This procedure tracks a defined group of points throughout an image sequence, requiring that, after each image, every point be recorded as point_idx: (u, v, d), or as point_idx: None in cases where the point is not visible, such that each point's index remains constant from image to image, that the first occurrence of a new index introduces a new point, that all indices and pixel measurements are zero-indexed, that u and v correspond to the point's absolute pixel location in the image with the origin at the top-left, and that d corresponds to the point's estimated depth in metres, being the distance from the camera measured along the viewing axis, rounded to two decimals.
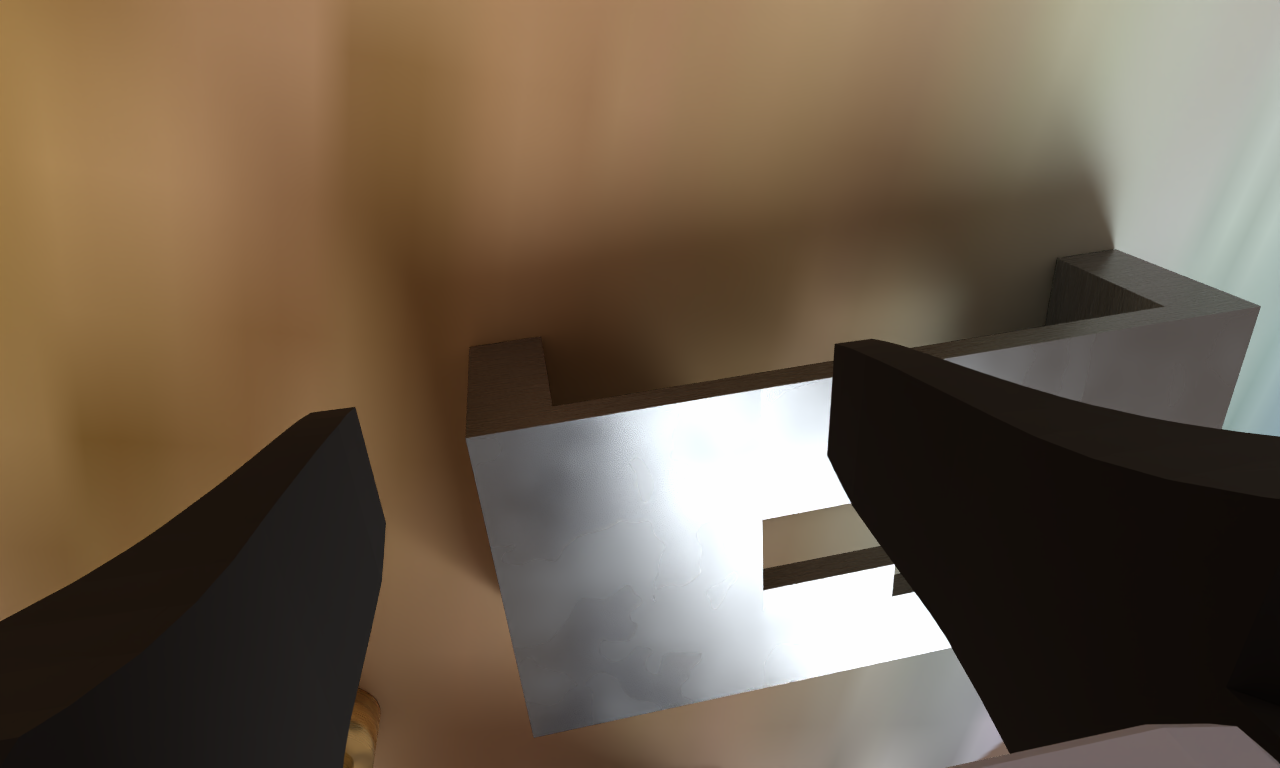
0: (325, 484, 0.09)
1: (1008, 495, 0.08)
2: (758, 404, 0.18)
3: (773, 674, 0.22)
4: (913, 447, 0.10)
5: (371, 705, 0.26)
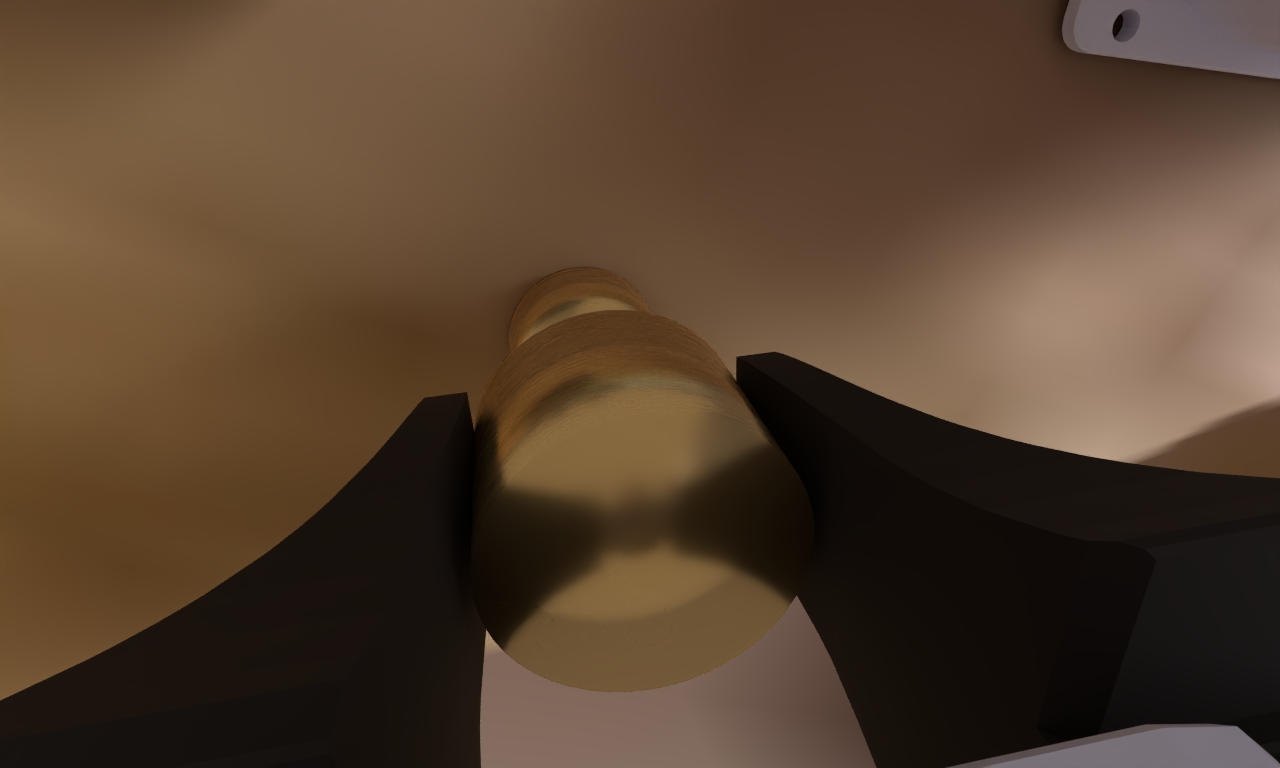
0: (457, 465, 0.09)
1: (870, 518, 0.08)
2: None
3: None
4: (798, 465, 0.09)
5: (561, 278, 0.14)
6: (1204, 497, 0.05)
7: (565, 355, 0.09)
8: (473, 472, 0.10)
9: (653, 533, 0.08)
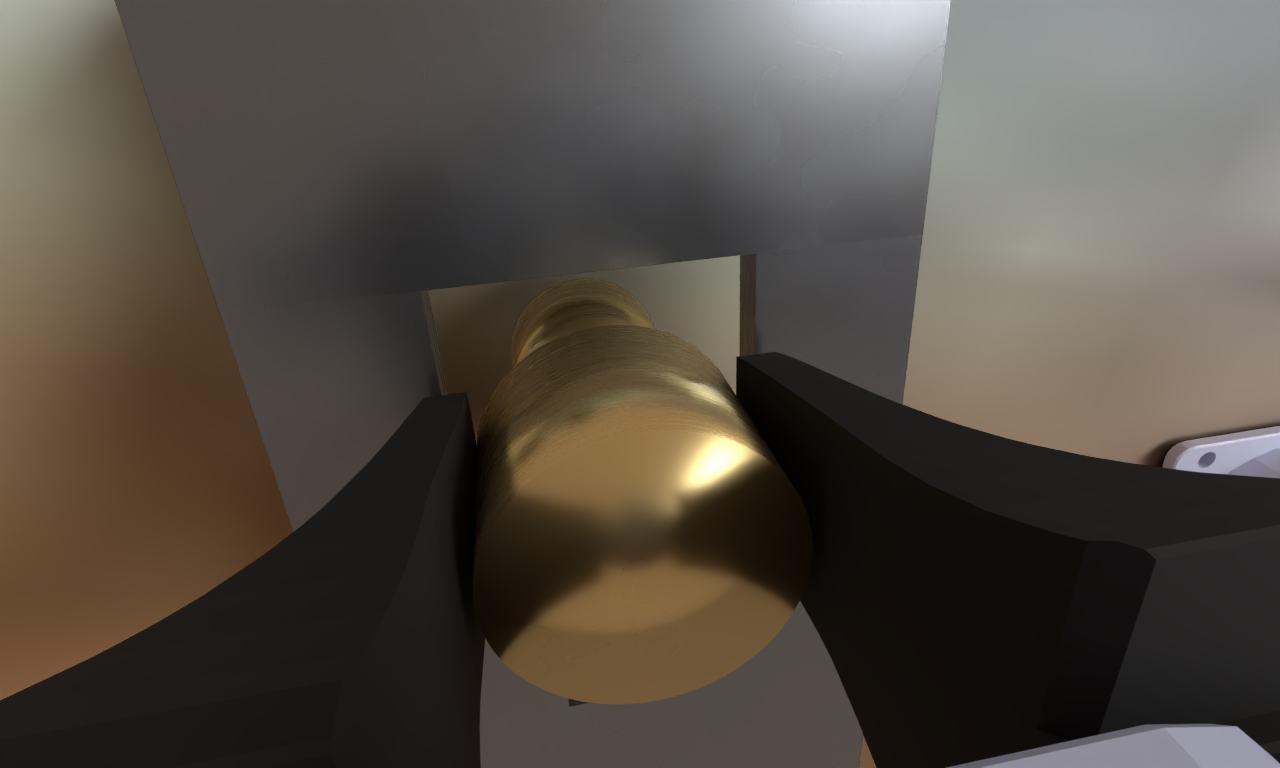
0: (457, 465, 0.09)
1: (870, 518, 0.08)
2: None
3: None
4: (798, 465, 0.09)
5: (557, 291, 0.14)
6: (1205, 498, 0.05)
7: (554, 376, 0.09)
8: None
9: (650, 549, 0.09)
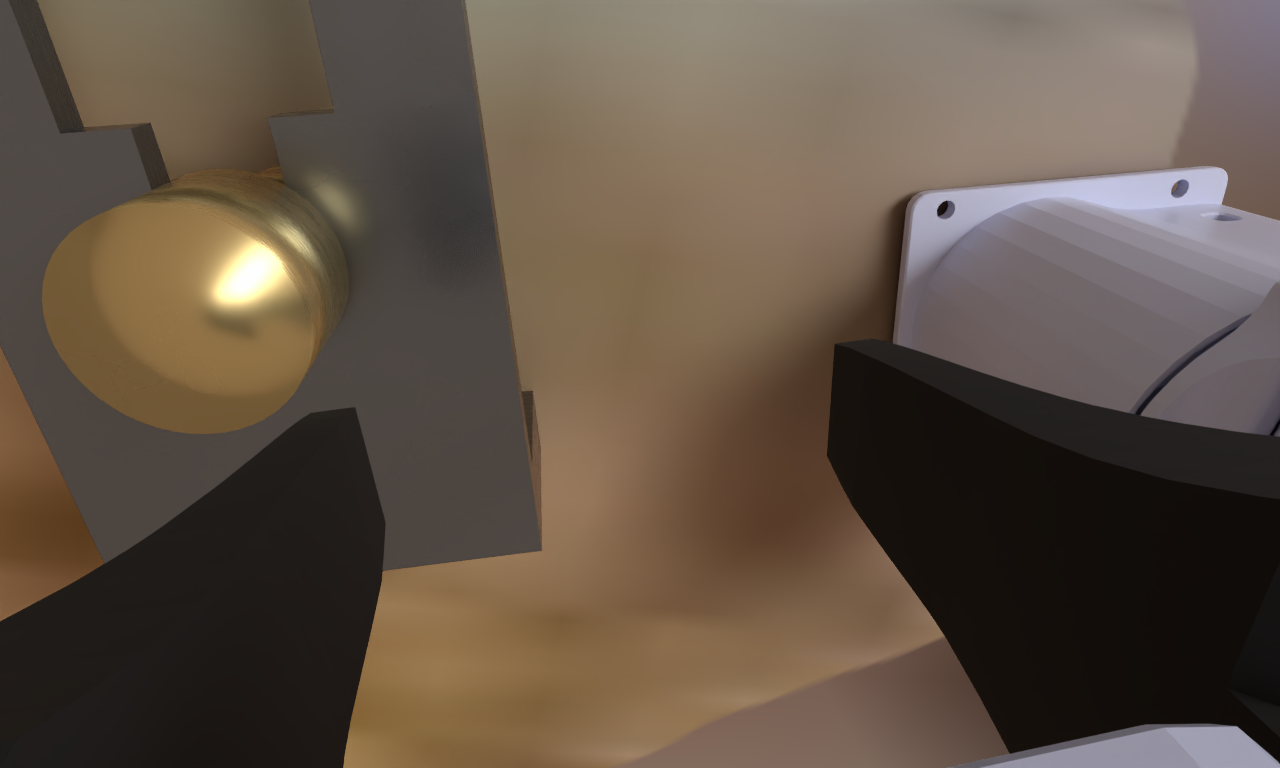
0: (325, 484, 0.09)
1: (1008, 495, 0.08)
2: (21, 343, 0.15)
3: (479, 283, 0.16)
4: (913, 447, 0.10)
5: (259, 172, 0.17)
6: None
7: None
8: None
9: (174, 301, 0.12)
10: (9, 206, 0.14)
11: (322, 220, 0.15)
